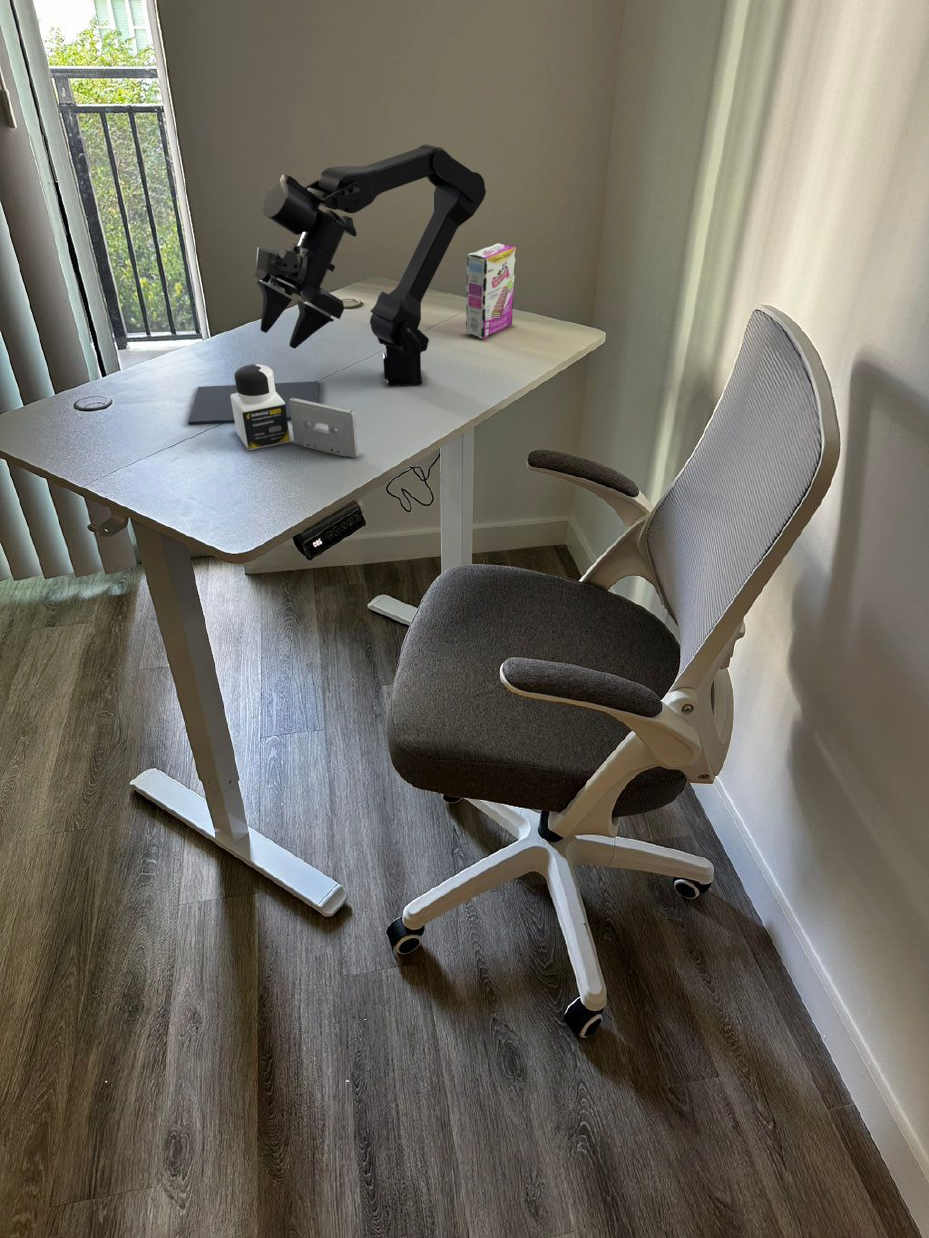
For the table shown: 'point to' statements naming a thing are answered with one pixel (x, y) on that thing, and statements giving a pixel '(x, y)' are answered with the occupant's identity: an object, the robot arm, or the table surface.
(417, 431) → the table surface
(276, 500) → the table surface
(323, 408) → the cassette
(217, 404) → the desk mat
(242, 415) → the medicine bottle
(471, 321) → the candy bar box
